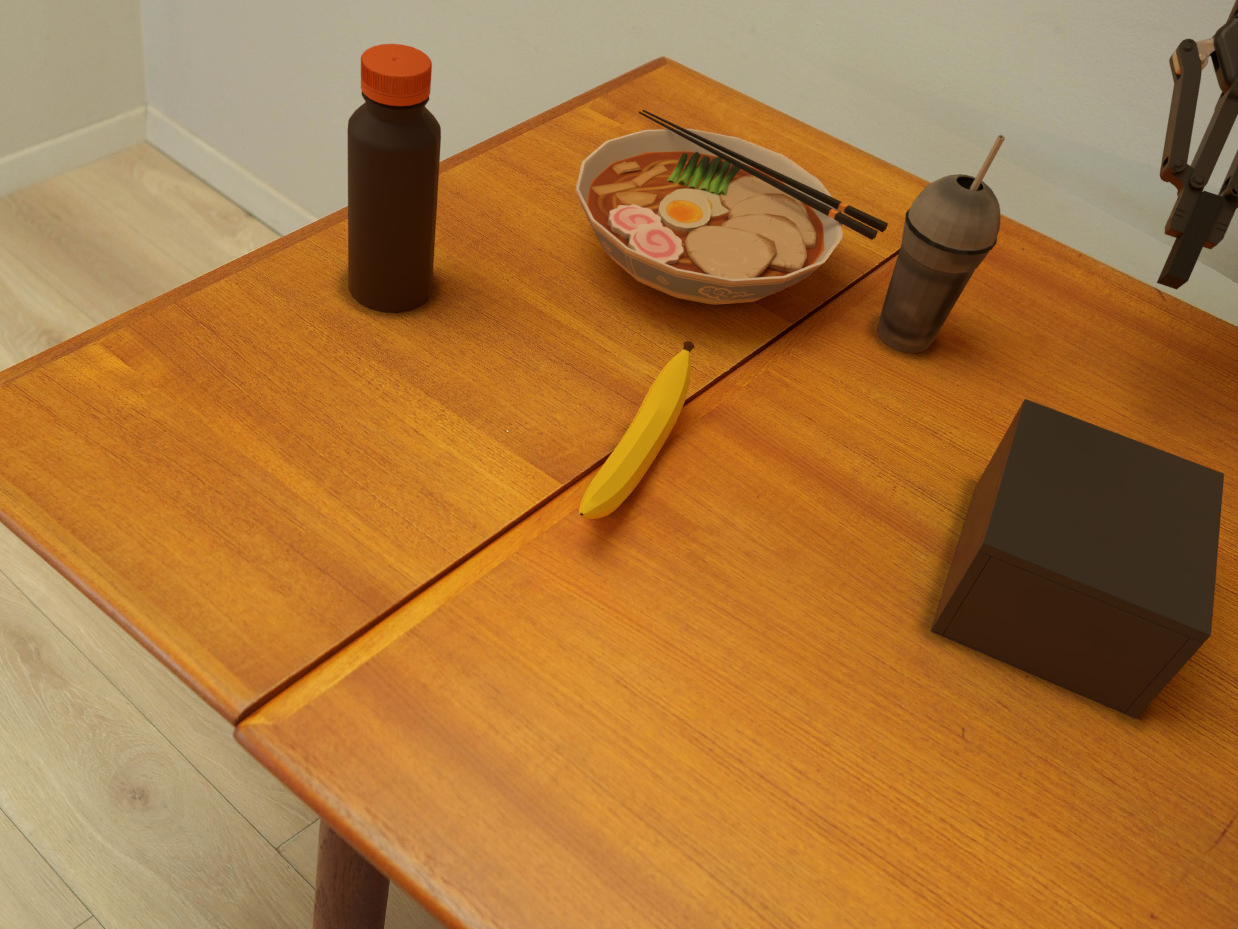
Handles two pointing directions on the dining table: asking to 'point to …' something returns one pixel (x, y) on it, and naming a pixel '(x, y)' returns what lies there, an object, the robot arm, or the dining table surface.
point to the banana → (640, 439)
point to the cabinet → (1086, 560)
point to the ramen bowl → (711, 214)
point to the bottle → (393, 181)
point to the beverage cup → (938, 256)
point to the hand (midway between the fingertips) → (1172, 281)
